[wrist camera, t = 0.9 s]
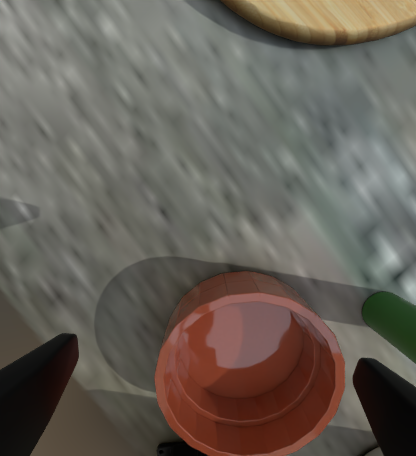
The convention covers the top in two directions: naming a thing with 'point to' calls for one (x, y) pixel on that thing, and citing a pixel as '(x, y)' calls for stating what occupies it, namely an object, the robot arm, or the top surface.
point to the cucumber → (393, 321)
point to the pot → (248, 368)
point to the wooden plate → (328, 19)
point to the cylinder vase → (375, 452)
